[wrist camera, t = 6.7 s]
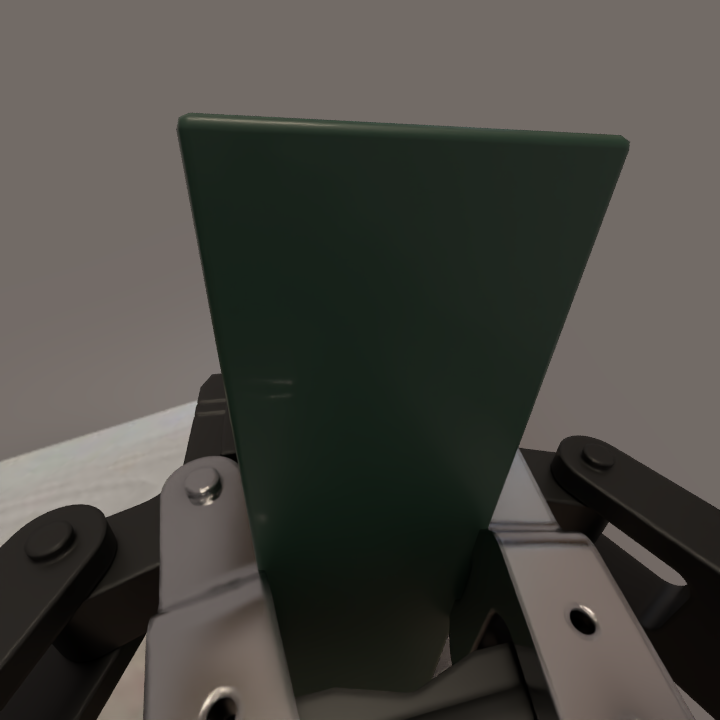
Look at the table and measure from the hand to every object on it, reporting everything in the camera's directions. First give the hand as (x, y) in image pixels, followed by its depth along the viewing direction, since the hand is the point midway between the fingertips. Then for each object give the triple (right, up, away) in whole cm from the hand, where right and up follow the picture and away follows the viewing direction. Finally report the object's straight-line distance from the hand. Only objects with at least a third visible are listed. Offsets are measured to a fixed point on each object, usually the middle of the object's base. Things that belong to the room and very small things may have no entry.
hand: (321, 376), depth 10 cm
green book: (0, -8, +3) cm, 8 cm away
